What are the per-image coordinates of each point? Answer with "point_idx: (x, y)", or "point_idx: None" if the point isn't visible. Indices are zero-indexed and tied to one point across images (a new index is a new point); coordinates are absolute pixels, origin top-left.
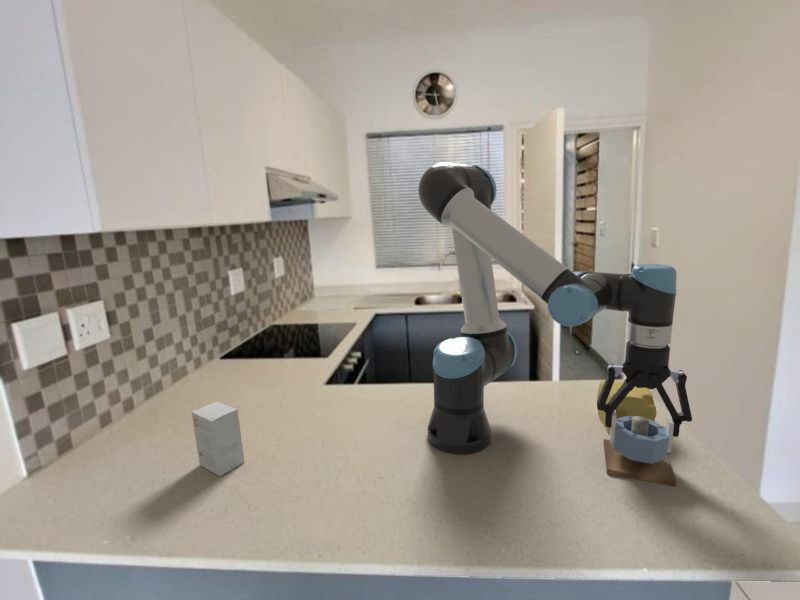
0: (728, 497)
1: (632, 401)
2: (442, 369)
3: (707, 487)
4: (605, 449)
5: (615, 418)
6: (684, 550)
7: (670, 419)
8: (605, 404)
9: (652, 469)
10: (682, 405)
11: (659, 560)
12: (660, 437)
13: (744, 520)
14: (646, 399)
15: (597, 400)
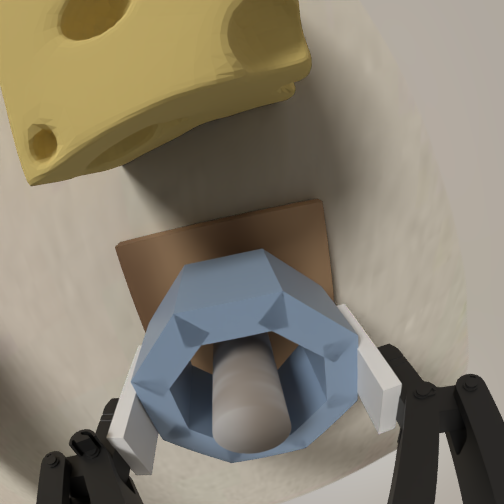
0: (427, 333)
1: (164, 108)
2: None
3: (400, 322)
4: (140, 315)
5: (150, 465)
6: (321, 475)
7: (391, 405)
8: (85, 484)
9: (285, 349)
10: (461, 483)
11: (289, 496)
12: (326, 420)
13: (425, 381)
14: (254, 11)
15: (41, 471)
